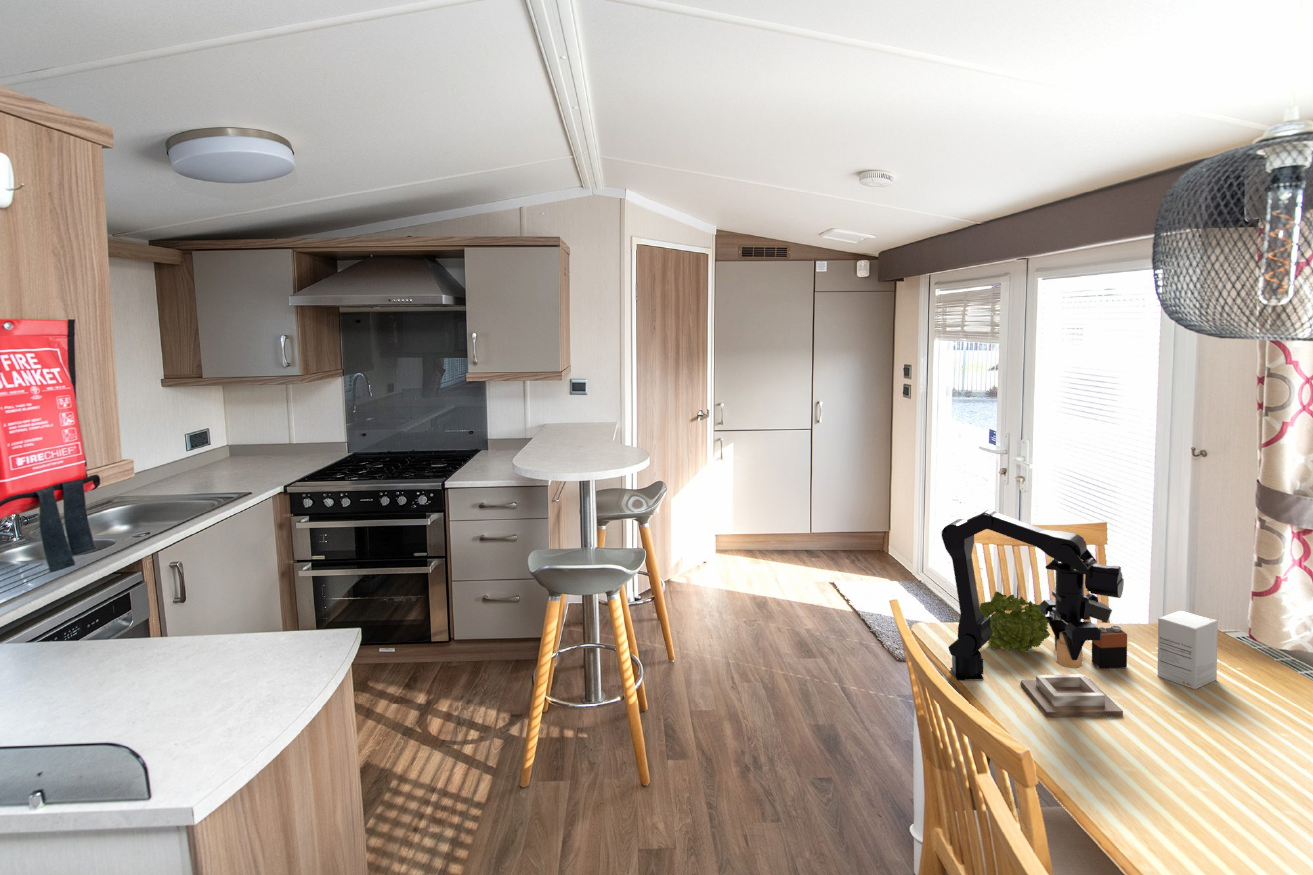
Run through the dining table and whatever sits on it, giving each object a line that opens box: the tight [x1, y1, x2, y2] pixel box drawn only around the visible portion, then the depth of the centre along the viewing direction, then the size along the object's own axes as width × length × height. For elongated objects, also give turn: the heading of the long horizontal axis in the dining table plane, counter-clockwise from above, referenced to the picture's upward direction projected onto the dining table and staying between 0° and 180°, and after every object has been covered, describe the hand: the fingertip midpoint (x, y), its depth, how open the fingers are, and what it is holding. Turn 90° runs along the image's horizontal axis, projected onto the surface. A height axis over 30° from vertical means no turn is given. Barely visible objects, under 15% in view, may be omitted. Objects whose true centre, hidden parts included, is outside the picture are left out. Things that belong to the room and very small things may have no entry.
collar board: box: [1020, 673, 1124, 718], centre depth 179 cm, size 16×16×4 cm
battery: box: [1091, 625, 1128, 670], centre depth 194 cm, size 4×7×10 cm, turn 88°
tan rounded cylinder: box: [1056, 631, 1083, 669], centre depth 177 cm, size 5×5×7 cm
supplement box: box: [1157, 610, 1218, 690], centre depth 184 cm, size 9×9×15 cm
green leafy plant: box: [979, 590, 1051, 654], centre depth 207 cm, size 18×16×16 cm
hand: (1069, 654), depth 177 cm, fingers closed on tan rounded cylinder, 5 cm apart
